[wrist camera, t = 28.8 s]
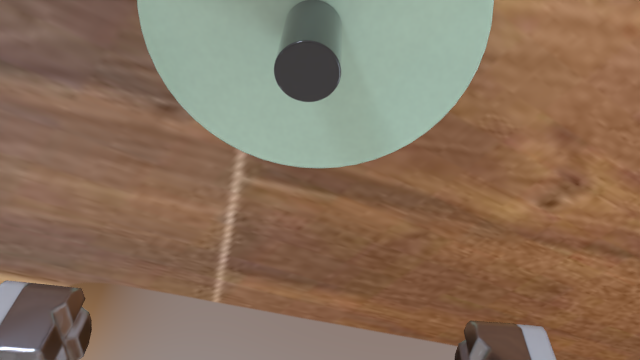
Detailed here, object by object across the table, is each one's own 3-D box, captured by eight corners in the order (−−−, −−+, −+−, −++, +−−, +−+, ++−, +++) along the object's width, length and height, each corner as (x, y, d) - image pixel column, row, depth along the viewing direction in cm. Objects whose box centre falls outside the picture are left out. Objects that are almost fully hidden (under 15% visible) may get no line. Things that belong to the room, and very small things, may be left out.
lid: (440, 171, 30) (456, 241, 25) (158, 140, 29) (125, 206, 25) (541, -160, 20) (596, -139, 16) (123, -214, 20) (57, -208, 15)
